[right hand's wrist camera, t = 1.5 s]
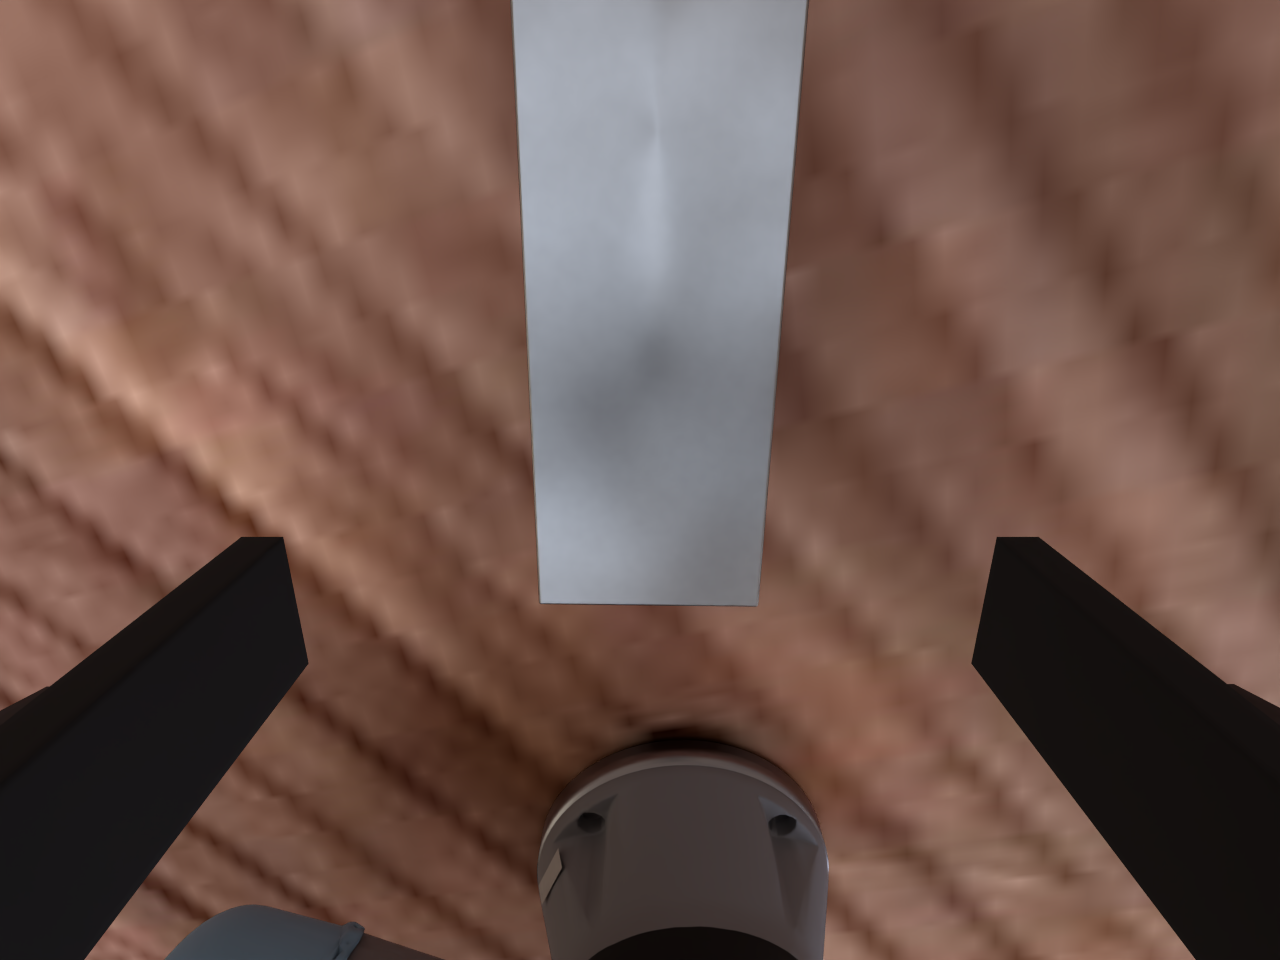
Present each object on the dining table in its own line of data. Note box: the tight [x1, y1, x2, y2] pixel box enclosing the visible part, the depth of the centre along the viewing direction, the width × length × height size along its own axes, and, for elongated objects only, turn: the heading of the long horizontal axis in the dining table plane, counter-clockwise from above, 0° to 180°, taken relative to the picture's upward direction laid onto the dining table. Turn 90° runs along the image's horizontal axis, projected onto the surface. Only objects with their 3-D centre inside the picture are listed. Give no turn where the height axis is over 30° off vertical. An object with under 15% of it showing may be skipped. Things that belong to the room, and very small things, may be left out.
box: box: [510, 0, 809, 607], centre depth 20 cm, size 24×6×12 cm, turn 179°
